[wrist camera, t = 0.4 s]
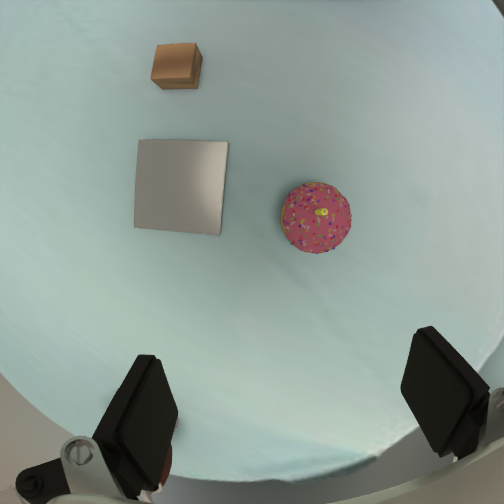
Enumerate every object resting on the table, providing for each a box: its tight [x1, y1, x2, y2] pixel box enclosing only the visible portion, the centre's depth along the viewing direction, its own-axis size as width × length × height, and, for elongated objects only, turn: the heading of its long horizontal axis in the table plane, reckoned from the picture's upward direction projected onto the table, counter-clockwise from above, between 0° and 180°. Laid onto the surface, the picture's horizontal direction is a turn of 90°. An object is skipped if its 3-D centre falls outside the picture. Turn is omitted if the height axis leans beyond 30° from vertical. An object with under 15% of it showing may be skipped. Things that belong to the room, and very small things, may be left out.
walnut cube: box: [150, 43, 202, 89], centre depth 29 cm, size 5×5×5 cm
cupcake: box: [281, 182, 352, 254], centre depth 31 cm, size 9×8×12 cm
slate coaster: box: [134, 140, 229, 235], centre depth 35 cm, size 12×12×1 cm
